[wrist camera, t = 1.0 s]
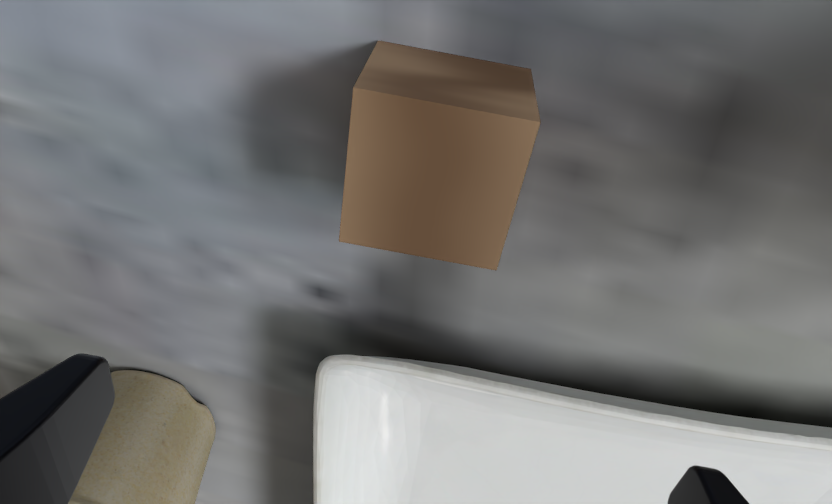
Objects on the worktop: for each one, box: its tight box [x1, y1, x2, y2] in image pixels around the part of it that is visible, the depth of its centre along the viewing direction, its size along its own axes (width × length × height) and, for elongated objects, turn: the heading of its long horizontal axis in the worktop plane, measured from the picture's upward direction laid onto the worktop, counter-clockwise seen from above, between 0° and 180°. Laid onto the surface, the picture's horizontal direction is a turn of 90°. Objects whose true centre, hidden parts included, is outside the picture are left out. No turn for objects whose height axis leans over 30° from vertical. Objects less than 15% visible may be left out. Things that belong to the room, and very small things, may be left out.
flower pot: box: [68, 370, 216, 504], centre depth 25 cm, size 9×9×9 cm
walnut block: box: [339, 41, 541, 270], centre depth 17 cm, size 4×4×4 cm
